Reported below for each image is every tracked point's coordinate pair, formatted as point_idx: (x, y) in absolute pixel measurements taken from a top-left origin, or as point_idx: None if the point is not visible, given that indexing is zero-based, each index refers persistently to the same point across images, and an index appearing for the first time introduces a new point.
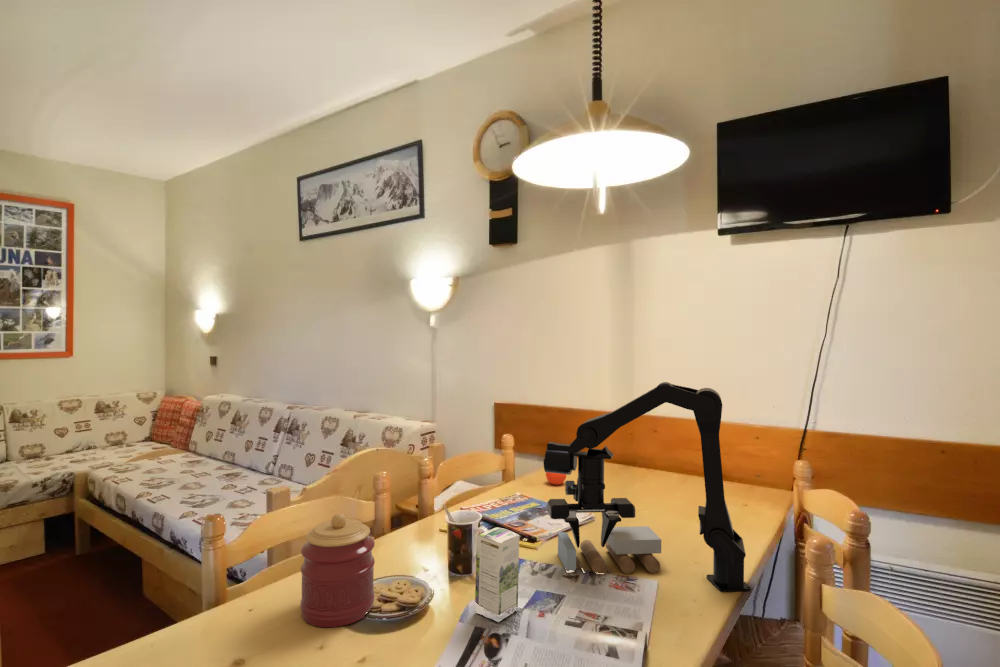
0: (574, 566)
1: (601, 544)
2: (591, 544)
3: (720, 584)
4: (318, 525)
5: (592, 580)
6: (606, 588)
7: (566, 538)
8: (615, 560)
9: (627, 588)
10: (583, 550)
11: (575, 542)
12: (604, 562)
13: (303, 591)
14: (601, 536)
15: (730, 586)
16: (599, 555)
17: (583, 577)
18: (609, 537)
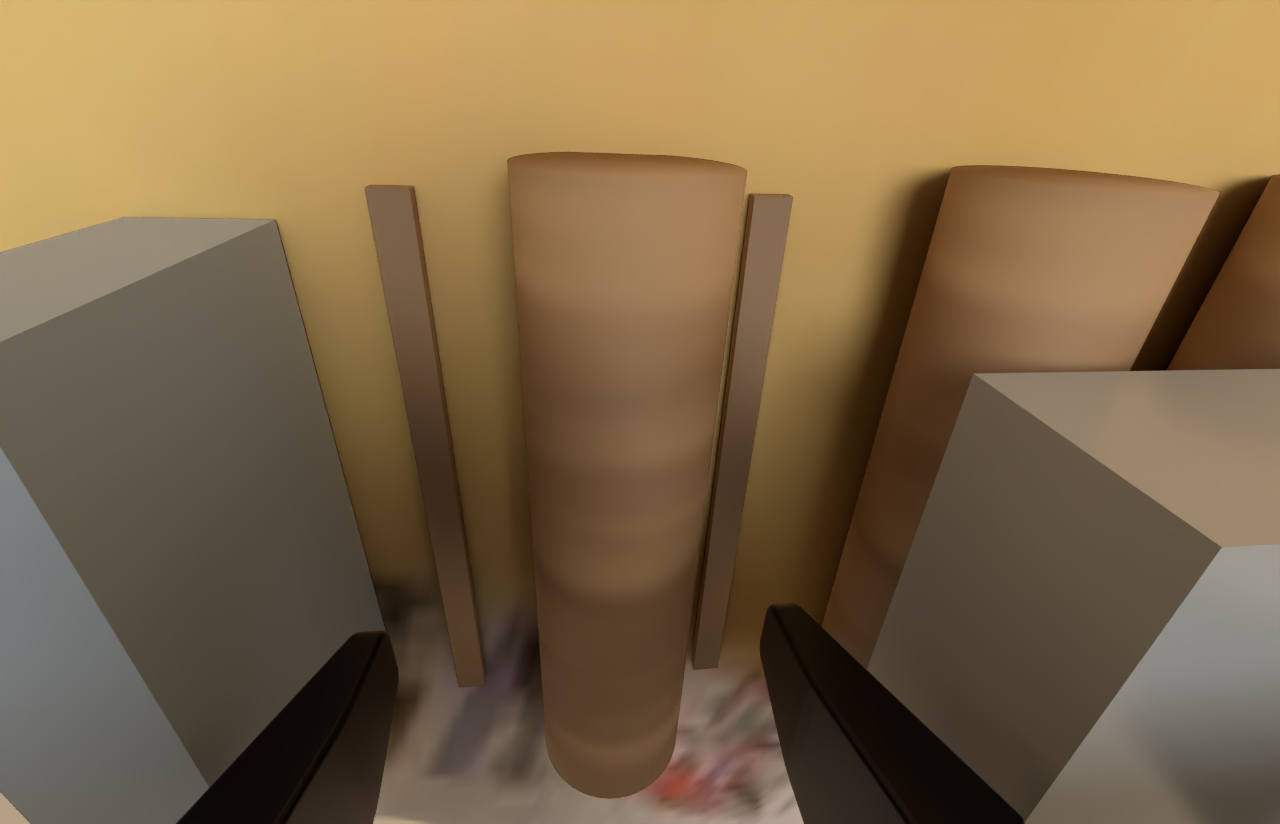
0: None
1: (771, 639)
2: (672, 389)
3: None
4: None
5: (523, 742)
6: (596, 807)
7: (69, 706)
8: (839, 573)
9: (731, 798)
10: (524, 390)
11: (315, 682)
12: (731, 515)
13: None
14: (829, 736)
15: None
16: (670, 656)
17: (457, 714)
18: (985, 647)
